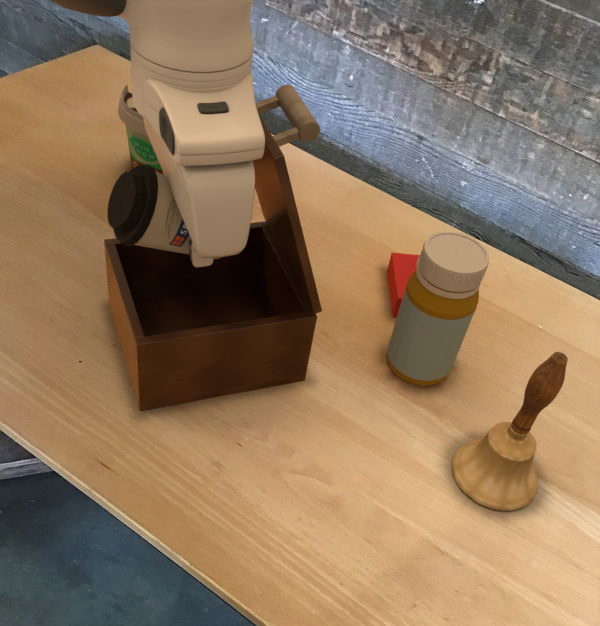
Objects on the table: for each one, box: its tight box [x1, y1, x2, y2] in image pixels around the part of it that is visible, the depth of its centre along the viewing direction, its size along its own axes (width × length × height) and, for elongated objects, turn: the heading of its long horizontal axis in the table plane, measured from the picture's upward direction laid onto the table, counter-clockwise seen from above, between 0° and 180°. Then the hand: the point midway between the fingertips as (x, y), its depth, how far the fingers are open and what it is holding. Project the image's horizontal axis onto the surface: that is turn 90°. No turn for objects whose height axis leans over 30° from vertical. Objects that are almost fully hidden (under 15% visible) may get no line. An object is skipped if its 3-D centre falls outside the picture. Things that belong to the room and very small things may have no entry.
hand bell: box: [451, 351, 569, 512], centre depth 66 cm, size 8×8×16 cm
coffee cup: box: [106, 165, 221, 259], centre depth 66 cm, size 7×7×10 cm
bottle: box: [385, 230, 490, 386], centre depth 75 cm, size 7×7×15 cm
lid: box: [253, 84, 323, 315], centre depth 67 cm, size 18×15×5 cm
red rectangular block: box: [386, 252, 421, 318], centre depth 86 cm, size 8×7×6 cm
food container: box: [117, 84, 163, 175], centre depth 92 cm, size 12×6×10 cm, turn 71°
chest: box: [103, 220, 318, 412], centre depth 75 cm, size 17×15×9 cm
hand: (188, 232), depth 67 cm, fingers closed on coffee cup, 7 cm apart
